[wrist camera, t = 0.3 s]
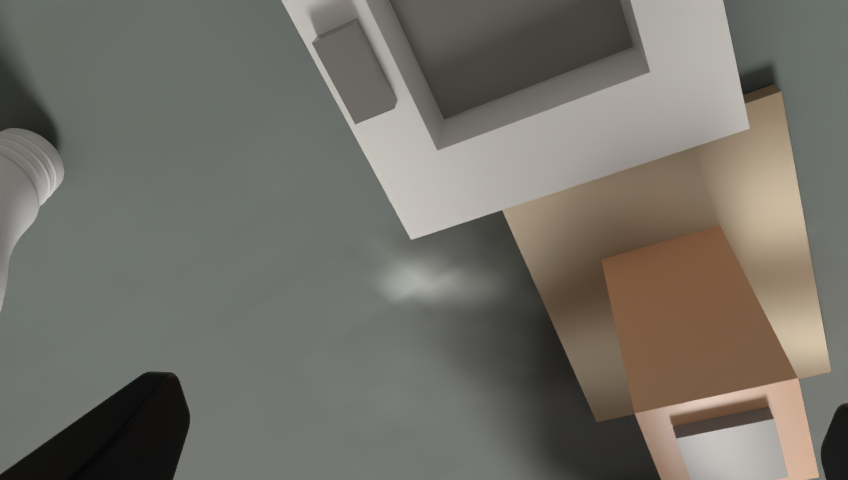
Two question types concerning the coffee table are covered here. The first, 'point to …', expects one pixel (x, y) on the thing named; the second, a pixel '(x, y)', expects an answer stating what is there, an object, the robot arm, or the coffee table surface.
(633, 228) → the tray slab
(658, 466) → the plug
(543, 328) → the coffee table surface
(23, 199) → the lightbulb
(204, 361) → the coffee table surface
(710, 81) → the socket block
